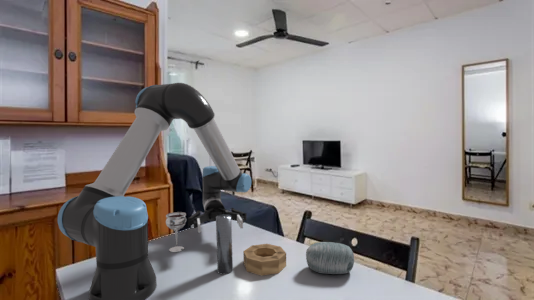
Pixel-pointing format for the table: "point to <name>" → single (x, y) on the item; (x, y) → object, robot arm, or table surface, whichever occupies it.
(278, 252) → the brown thick faceted ring
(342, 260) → the grey yarn skein
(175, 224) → the wineglass
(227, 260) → the rod
